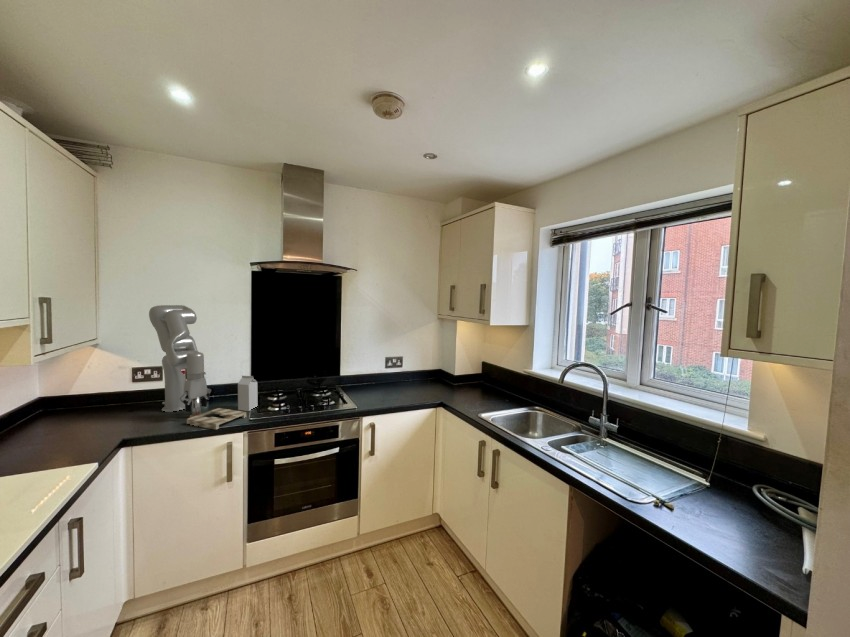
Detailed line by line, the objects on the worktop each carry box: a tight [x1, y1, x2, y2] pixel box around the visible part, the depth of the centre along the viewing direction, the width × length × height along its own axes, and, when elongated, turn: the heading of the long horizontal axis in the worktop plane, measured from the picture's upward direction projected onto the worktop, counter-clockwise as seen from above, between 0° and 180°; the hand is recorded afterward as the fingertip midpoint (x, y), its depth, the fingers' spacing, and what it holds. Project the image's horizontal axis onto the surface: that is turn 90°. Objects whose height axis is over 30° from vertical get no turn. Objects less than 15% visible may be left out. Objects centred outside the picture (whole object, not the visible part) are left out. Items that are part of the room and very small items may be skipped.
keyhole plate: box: [186, 407, 247, 430], centre depth 173 cm, size 19×18×3 cm
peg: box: [189, 397, 204, 418], centre depth 177 cm, size 6×6×11 cm
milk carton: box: [237, 375, 259, 412], centre depth 192 cm, size 7×7×19 cm
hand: (196, 408), depth 177 cm, fingers open, 8 cm apart
